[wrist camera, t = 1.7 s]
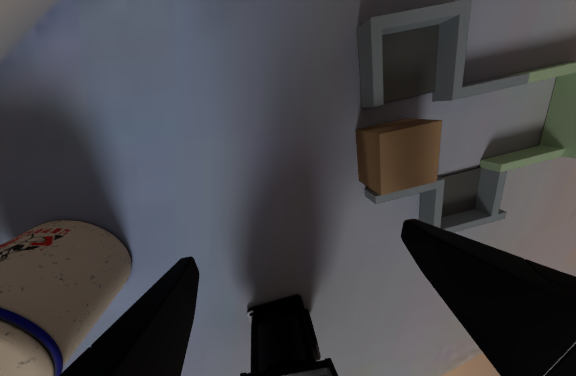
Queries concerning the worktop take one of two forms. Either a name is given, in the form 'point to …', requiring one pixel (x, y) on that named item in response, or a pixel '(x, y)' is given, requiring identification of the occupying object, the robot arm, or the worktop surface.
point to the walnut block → (398, 154)
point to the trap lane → (448, 86)
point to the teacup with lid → (55, 293)
